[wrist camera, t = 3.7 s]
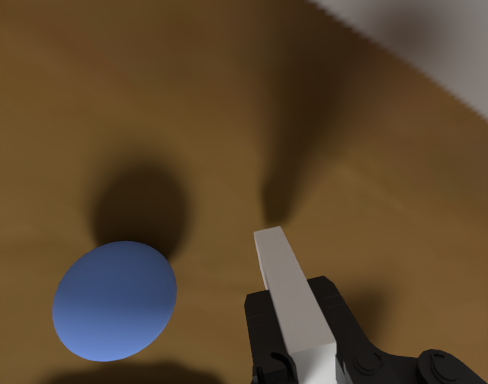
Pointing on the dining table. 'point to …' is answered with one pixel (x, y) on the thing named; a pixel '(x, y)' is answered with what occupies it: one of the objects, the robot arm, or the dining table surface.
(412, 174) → the dining table surface
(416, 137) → the dining table surface
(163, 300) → the ball
